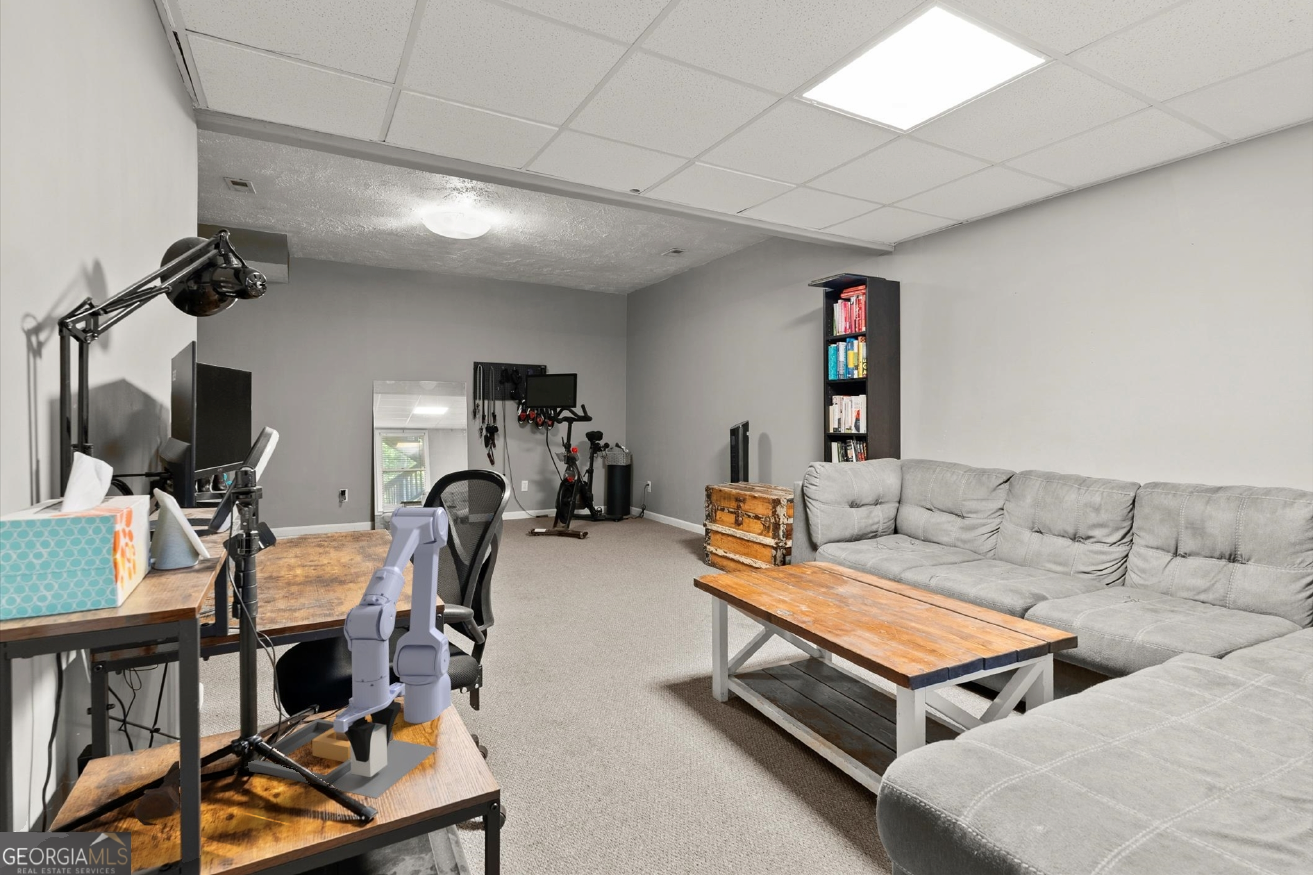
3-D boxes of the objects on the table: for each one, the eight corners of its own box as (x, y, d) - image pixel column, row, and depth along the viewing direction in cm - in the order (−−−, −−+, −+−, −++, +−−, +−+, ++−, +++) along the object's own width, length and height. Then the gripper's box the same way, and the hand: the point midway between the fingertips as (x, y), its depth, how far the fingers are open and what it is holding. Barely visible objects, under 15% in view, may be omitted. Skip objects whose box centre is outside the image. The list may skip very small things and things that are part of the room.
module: (368, 760, 111) (367, 720, 111) (387, 764, 110) (386, 723, 110) (351, 773, 107) (349, 731, 107) (370, 777, 106) (369, 734, 106)
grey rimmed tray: (317, 730, 126) (317, 711, 126) (393, 745, 121) (392, 724, 120) (243, 775, 111) (243, 752, 111) (326, 793, 105) (325, 770, 105)
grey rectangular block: (349, 743, 119) (348, 707, 119) (361, 746, 118) (361, 709, 118) (336, 751, 116) (335, 714, 116) (349, 754, 116) (348, 716, 115)
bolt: (197, 782, 112) (161, 832, 98) (167, 772, 111) (126, 822, 96) (216, 750, 113) (183, 796, 99) (187, 740, 111) (149, 785, 97)
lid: (391, 745, 121) (391, 738, 121) (438, 754, 118) (438, 747, 118) (324, 793, 105) (324, 786, 105) (376, 805, 102) (376, 798, 102)
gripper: (381, 656, 116) (382, 729, 117) (317, 689, 102) (319, 772, 103) (414, 661, 114) (415, 735, 114) (353, 695, 100) (354, 779, 101)
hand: (372, 753), depth 108 cm, fingers closed on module, 4 cm apart
